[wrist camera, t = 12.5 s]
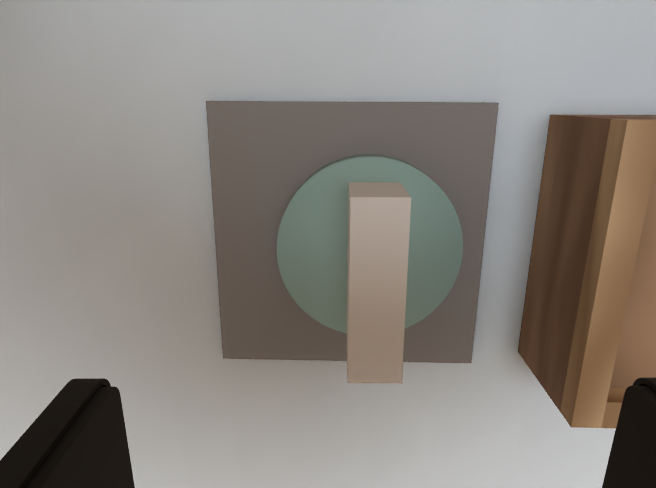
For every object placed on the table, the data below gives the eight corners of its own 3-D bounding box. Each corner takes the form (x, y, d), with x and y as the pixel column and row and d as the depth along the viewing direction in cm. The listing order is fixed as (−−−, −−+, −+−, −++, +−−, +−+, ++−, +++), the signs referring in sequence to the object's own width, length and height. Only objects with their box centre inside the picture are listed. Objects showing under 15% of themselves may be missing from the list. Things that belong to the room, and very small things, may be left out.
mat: (224, 354, 25) (223, 358, 25) (208, 101, 22) (205, 101, 21) (469, 359, 25) (471, 363, 25) (495, 102, 21) (498, 102, 21)
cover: (278, 153, 22) (252, 175, 15) (461, 154, 22) (511, 176, 15) (283, 319, 24) (262, 397, 18) (448, 321, 24) (486, 400, 18)
